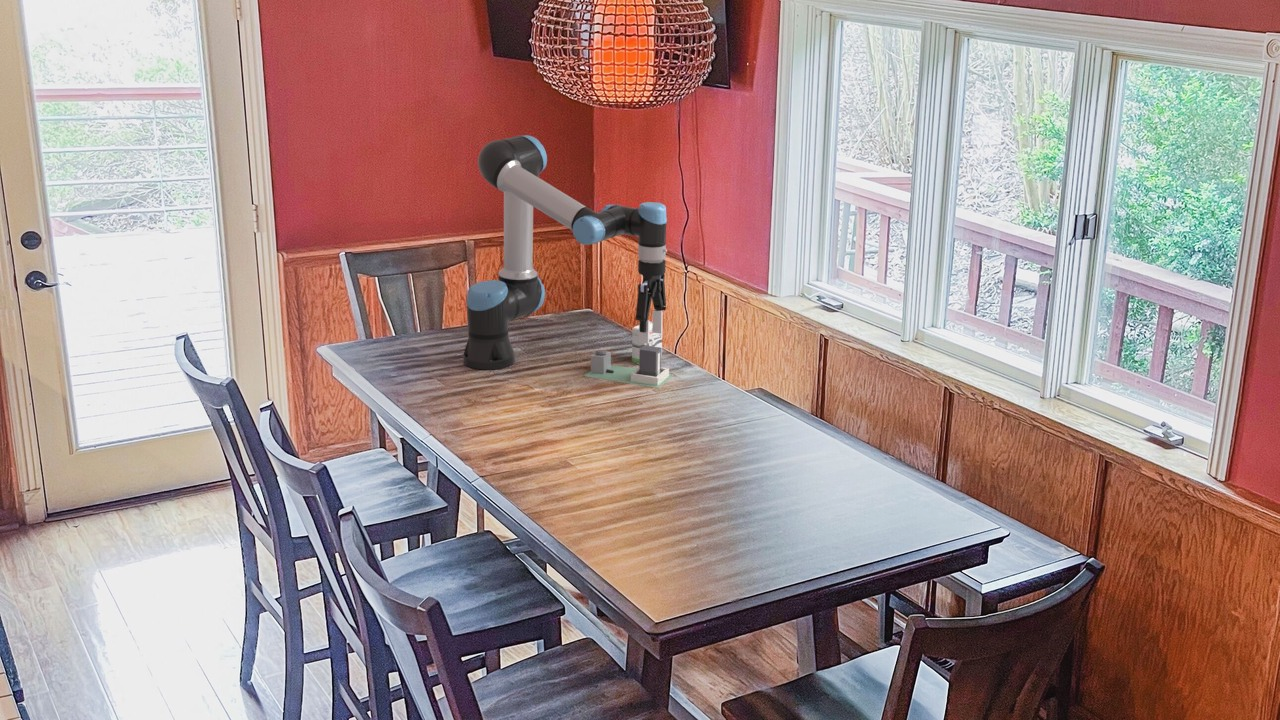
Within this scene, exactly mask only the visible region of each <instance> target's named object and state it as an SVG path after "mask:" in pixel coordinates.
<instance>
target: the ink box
mask: <svg viewBox="0 0 1280 720" xmlns="http://www.w3.org/2000/svg"><path fill="white" fill-rule="evenodd" d="M652 323H653V321H649V343H648V344H647V343H640V342H639V324H638V325H635V326H633V327H632V330H631V331H632V333H631V334H632V335H631V337H632V338H631V339H632V341H631V343H632V344H631V347H632V350H631V363H634V364H637V365H639V357H640V349H641V348H642V347H644V346H645V345H646V346H653V347H660V348H661V359H662V358H663V357H662V356H663V355H662V354H663V332H662V333H661V334H660V333H653V332H652Z"/></svg>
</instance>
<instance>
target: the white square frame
mask: <svg viewBox="0 0 1280 720" xmlns="http://www.w3.org/2000/svg"><path fill="white" fill-rule="evenodd" d="M636 369H637V370H635V371H634V372H633V373H632V374H631V381H632V382H638V383H644V384H651V385H657V386H658V385H659V384H660V383H661V382H662V381H664V380H665V379H666V378H667V377H668V376H669V374H670V368H667V367H661V373H660V374H659V375H658V376H657V377H654V376H647V375H641V374H639V367H638V368H636Z"/></svg>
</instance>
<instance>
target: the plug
mask: <svg viewBox="0 0 1280 720" xmlns="http://www.w3.org/2000/svg"><path fill="white" fill-rule="evenodd" d="M638 365H639V367H638V368H639V374H641V375H647V376H654V377H657V376H658V375H659V374H660V373H661V368H662V358H661V348H660V347H653V346H646V345H645V346H644V347H642V348H641V349H640V357H639V364H638Z"/></svg>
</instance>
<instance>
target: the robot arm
mask: <svg viewBox="0 0 1280 720" xmlns="http://www.w3.org/2000/svg"><path fill="white" fill-rule="evenodd" d="M547 162H548V155H547V152H546V150H545V147H544V145H543V144H542V143H541V142H540V141H539V139H537V138H536V137H534V136H532V135H529V134H528V135H527V134H526V135H515V136H512V137H511V136H510V137H507V138H503V139H497V140H493V141H490V142H488V143H487V144H485V145H484V146H483V147H482V149H481V150H480V152H479V154H478V158H477V166H478V171H479V172H480V175H481V176H482V178H483V179H484V180H485V181H486V182H487V183H488V184H490V185H491V186H492V187H494V188H495V189H497V190H499V191H500V192H503V267H502V269H500V270H499V271H498V280H497V279H491V280H489V279H488V280H486V281H485V280H482V281H478V282H476V283H474V284H472V285H471V286H470V287H469V288H468V290H467V296H466V297H467V298H466V309H467V310H466V311H467V312H466V313H467V330H468V332H467V334H468V337H467V340H466V344H465V348H464V352H463V355H462V359H463V360H462V361H463V364H464V365H465V366H466V367H469V368H470V369H471V368H472V369H477V370H489V371H490V370H499V369H504V368H507V367H510V366H513V364H514V363H515V362H516V357H515V356H516V355H515V351H514V349H513V345H512V341H511V339H510V337H509V322H512V321H515V320H517V319H521V318H523V317H527V316H530V315H531V314H533V313H535V312H536V311H538V310H540V308H542V306H543V303H544V301H545V299H546V290H545V289H546V288H545V285H544V284H543V283H542V279H541V278H539V275H538V271H536V269H534V267H533V266H534V265H533V263H534V262H533V260H534V259H533V258H534V257H533V253H534V250H533V249H534V248H533V247H534V240H533V239H534V208H535V209H537V210H538V211H541V212H542V213H544V214H545V215H546V216H548V217H549V218H551V219H552V220H555V221H556V222H557V223H559V224H561V225H563V226H565V227H566V228H568V229H569V230H571V231H572V234H573V237H574V238H575V239H576V242H577V243H579V244H580V245H584V246H588V245H595V244H598V243H600V242H603V241H605V240H608V239H612V238H615V237H618V236H621V235H628V236H632V237H638V239H637V240H638V246H637V247H638V248H637V249H638V250H637V251H638V252H637V253H638V254H637V257H638V259H639V260H638V261H637V272H638V274H639V275H642V277H643V278H642V283H639V284H638V285H637V301H636V312H635V321H638V325H639V342H640V343H647V344H648V343H649V322H650V320H649V317H650V310H651V305H652V303H653V310H652V322H653V323H652V332H653V333H660V334H661V333H662V334H663V315H664V314H663V312H664V311H666V310H667V306H666V305H667V298H666V285H665V280H666V279H665V277H666V276H665V273H666V267H667V266H666V263H667V261H666V260H665V259H666V254H667V253H668V249H667V248H666V247H667V244H666V243H667V240H666V239H667V223H668V218H667V207H666V205H665V204H663V203H661V202H652V201H646V202H645V201H644V202H642V203H640V204H639V206H638V208H635V207H631V206H630V207H629V206H624V205H621V204H606V205H605V206H604V207H603V208H602V209H601V211H600V212H597V211H594V210H592V209H591V208H589V207H587V206H586V205H585V204H582V203H581V202H579V201H578V200H576V199H574V198H573V197H571V196H569V194H566V193H565V192H563V191H561V190H560V189H558V188H556V187H554V186H553V185H552V184H550V183H548V182H546V181H545V180H544V179H542V178H540V174H541V173H542V172H543V171H544V170H545V169H546V167H547Z"/></svg>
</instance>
